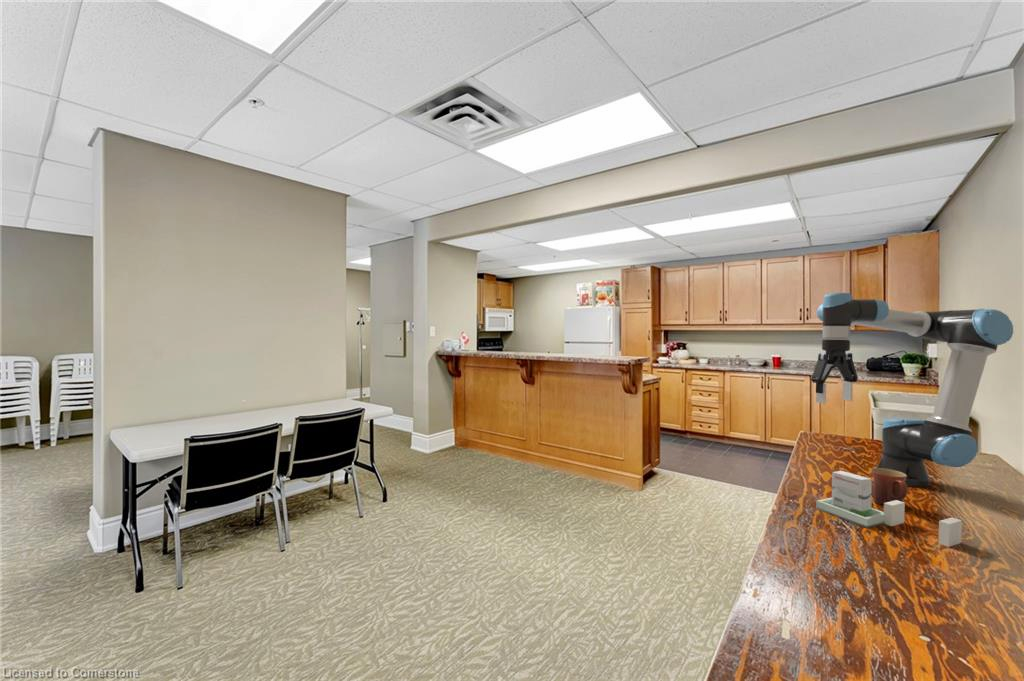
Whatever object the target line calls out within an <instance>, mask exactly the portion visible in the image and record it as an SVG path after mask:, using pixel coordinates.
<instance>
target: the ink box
mask: <svg viewBox="0 0 1024 681" xmlns="http://www.w3.org/2000/svg"><path fill="white" fill-rule="evenodd" d="M831 476H832V477H831V497H832V505H833V506H836V507H839V508H841V509H844V510H847V511H850V512H852V513H855V514H858V515H861V516H863V517H868V516H871V508H872V478H869V477H866V476H862V475H858V474H855V473H852V472H851V473H850V472H848V471H844V470H837V471H832V472H831Z"/></svg>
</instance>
